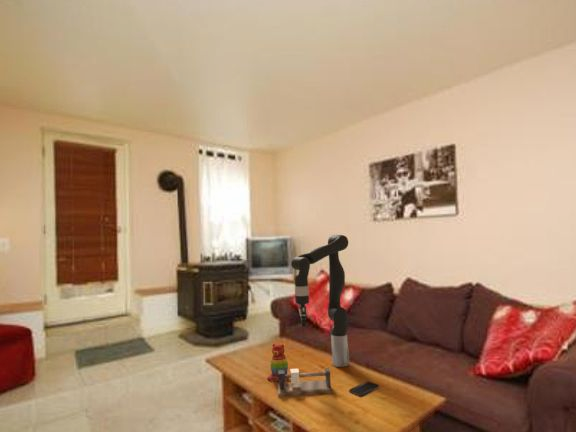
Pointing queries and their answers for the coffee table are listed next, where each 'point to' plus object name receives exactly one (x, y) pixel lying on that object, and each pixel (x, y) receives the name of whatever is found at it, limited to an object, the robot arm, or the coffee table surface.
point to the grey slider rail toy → (304, 385)
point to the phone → (364, 388)
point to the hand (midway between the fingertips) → (303, 324)
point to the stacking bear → (278, 362)
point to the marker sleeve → (294, 375)
